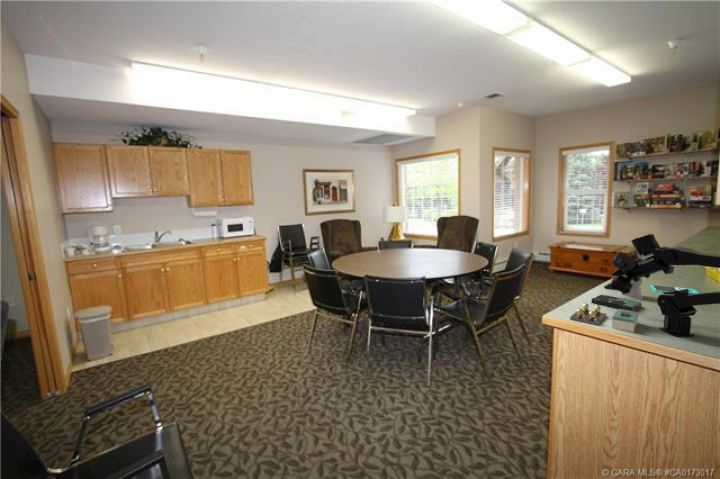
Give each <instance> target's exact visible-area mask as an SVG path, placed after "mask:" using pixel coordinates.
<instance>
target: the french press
mask: <svg viewBox="0 0 720 479" xmlns="http://www.w3.org/2000/svg"><path fill="white" fill-rule="evenodd" d="M630 246H632V252H634V249H635V247H634V246H633V244H632V242H631V243H630ZM621 276H625V275H621ZM630 283H631V284H632V285H633V288H632V289H631V291H630V293H628V294H623V293H622V292H620V291H618V292H617V293H616V296H618V297H619V298H622V299H628V300H642V299H644V296H643V295H642V287H643V286H642V285H643V279H642V278H640V279H639V280H638V281H637V282H635V281H634V280H633V279H632V280H631V282H630Z"/></svg>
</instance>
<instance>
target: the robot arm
mask: <svg viewBox="0 0 720 479" xmlns="http://www.w3.org/2000/svg"><path fill="white" fill-rule="evenodd" d="M630 242H631V243H632V244H633V245H632V247H633V246H634V249H635V250H636V252H637V254H638V255H639V256H643V257H646V258H644V259H642V258H639V257H638V255H635V254H630V255H629V254H626V253H625V252H623V251H618V253H617V254H615V256H614V257H613V259H612V260H611V264H613V265H614V267H616V268H618V269H616V270H615V271H613V273H611V274H612V276H613V278H612V280H611V282H609V283H608V284H606V285H604V286H603V288H604V289H605V290H611V291H618V292H622V293H623V294H628V293H630V291H631V289H632V288H633V285H632V284H631V283H630V282H631V280H632V279H633V280H634V281H635V282H637V281H638V280H639V279H642V278H646V279H649V278H650V276H651V275H653V274H657V273H659V272H663V274H664V275H670V274H674V269H675V266H701V267H702V266H703V267H708V268H716V269H720V254H715V253H714V254H713V253H705V252H702V251H701V252H700V251H699V250H696V249H692V248H688V247H685V246H675V247H669V246H663V247H662V246H660V244H659V242H658V241H657V240H656V237H655V235H654V234H653V233H647V234H646V235H642V236H640V237H635V238H634V239H632V240H631V241H630ZM622 275H625V276H622ZM656 303H657V306H658V307H659V309H660V312H661V315H663V316H664V317H663V318H664V319H663V327H662V326H661V327H659V330H660V331H663V332H665V333H667V334H670V335H671V336H674V337H695V333H692V332H691V327H692V316H694V317H695V315H696V313H697V312H698V310H697V309H696V308H695V307H694V306H703V305H705V306H707V305H720V290H718V291H717V290H716V291H707V292H706V291H705V292H698V293H689V290H688V289H683V290H672V291H667V292H662V294H659V295H658V297H656Z"/></svg>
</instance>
